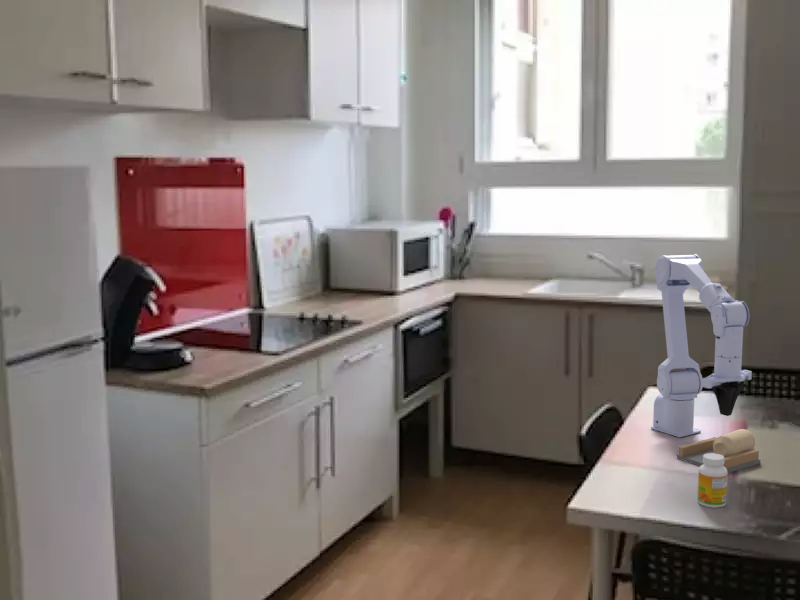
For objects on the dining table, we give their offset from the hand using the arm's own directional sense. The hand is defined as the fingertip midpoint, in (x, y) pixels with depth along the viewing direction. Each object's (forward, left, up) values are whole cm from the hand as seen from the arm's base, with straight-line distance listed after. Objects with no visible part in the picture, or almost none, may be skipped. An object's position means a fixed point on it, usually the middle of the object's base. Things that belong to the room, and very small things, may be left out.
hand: (725, 414), depth 208 cm
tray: (0, -2, -10) cm, 11 cm away
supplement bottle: (+16, -24, -11) cm, 31 cm away
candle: (+1, +6, -7) cm, 9 cm away
